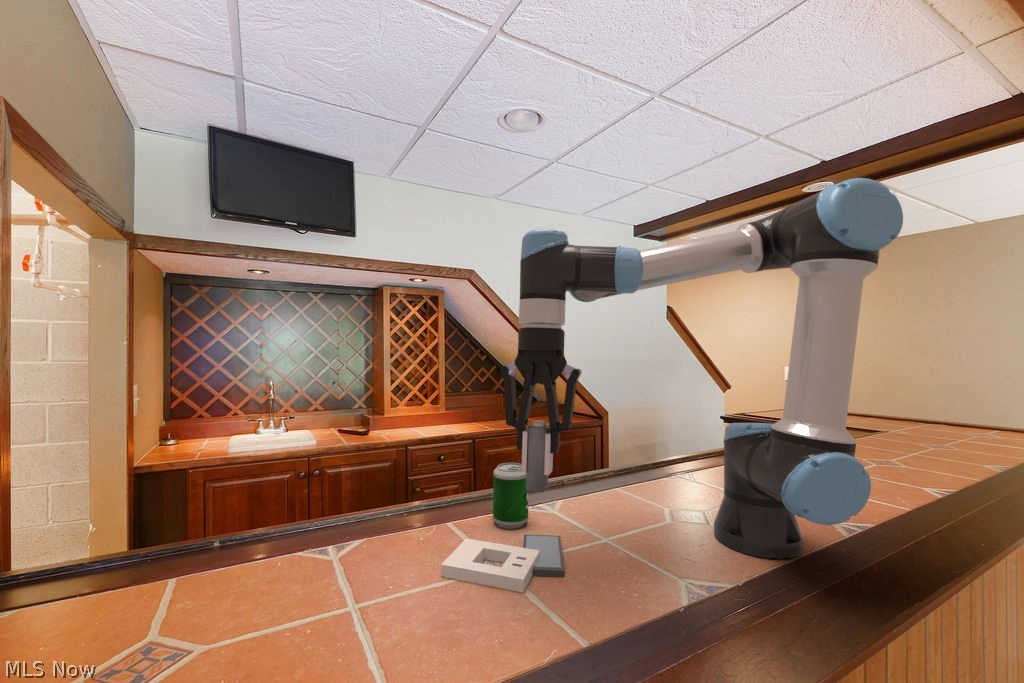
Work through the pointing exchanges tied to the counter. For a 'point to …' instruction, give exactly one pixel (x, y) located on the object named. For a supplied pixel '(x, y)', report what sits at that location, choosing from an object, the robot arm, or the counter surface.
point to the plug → (536, 457)
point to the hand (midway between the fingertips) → (537, 471)
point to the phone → (546, 554)
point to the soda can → (510, 496)
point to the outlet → (508, 577)
